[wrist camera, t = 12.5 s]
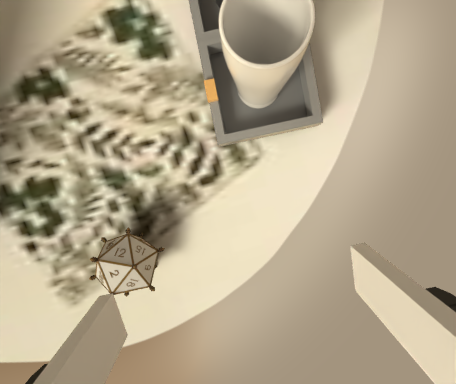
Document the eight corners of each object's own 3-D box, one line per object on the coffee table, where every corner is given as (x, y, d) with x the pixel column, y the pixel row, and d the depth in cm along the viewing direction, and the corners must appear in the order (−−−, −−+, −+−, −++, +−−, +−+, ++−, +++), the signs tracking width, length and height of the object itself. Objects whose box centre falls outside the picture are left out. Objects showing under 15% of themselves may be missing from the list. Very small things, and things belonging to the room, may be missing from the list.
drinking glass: (288, 61, 32) (323, -34, 17) (282, 117, 33) (311, 72, 18) (234, 58, 32) (221, -37, 18) (229, 113, 33) (213, 66, 18)
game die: (153, 257, 40) (125, 324, 33) (103, 230, 37) (60, 297, 30) (184, 234, 35) (159, 307, 28) (129, 200, 32) (84, 272, 25)
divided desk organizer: (219, 147, 34) (202, 134, 22) (180, -43, 33) (138, -178, 20) (317, 126, 33) (360, 99, 21) (282, -72, 32) (305, -234, 19)
